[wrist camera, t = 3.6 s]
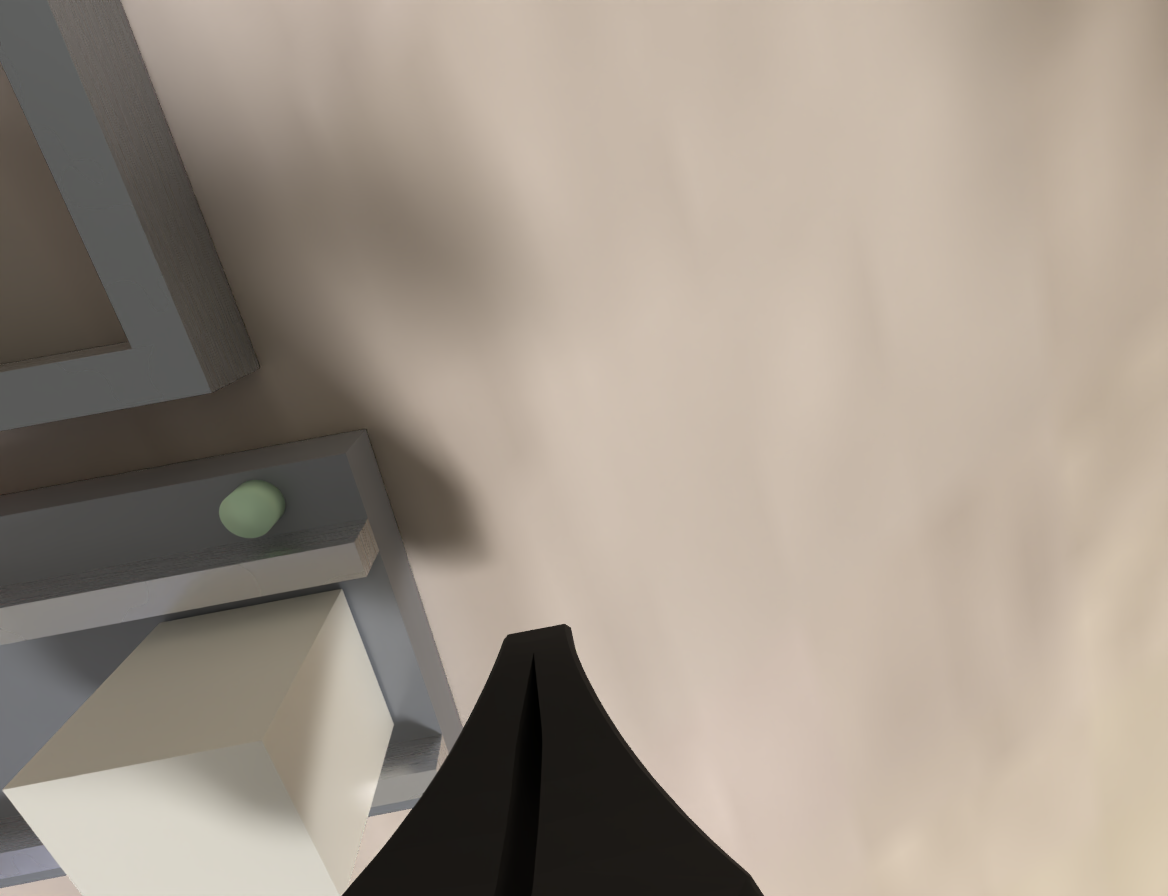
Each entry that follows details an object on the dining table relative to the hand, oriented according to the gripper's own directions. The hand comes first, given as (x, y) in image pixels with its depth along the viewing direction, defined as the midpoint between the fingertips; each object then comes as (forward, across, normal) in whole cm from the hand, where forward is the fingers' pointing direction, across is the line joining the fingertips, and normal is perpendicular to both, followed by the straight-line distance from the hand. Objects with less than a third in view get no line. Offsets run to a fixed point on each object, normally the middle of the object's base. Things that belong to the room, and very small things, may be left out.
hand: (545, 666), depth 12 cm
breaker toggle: (+1, +6, 0) cm, 6 cm away
